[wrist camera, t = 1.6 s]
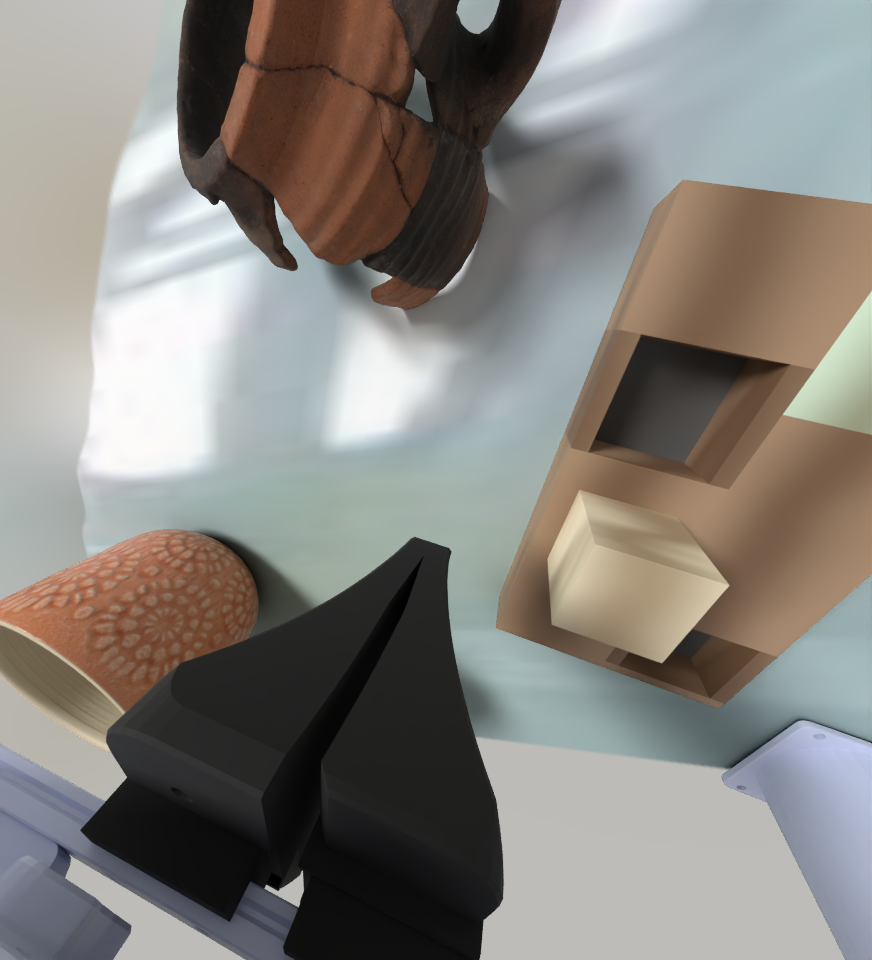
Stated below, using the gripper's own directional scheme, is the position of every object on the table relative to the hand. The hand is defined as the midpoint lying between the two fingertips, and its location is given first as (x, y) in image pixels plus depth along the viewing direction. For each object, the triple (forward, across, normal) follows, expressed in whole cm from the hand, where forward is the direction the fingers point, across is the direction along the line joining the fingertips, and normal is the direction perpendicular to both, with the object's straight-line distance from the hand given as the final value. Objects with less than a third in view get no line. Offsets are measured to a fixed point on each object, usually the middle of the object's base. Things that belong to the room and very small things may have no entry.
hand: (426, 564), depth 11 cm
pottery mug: (+8, +6, -12) cm, 16 cm away
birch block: (+5, -7, 0) cm, 9 cm away
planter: (+8, +19, +16) cm, 26 cm away
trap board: (+8, -10, -2) cm, 13 cm away
